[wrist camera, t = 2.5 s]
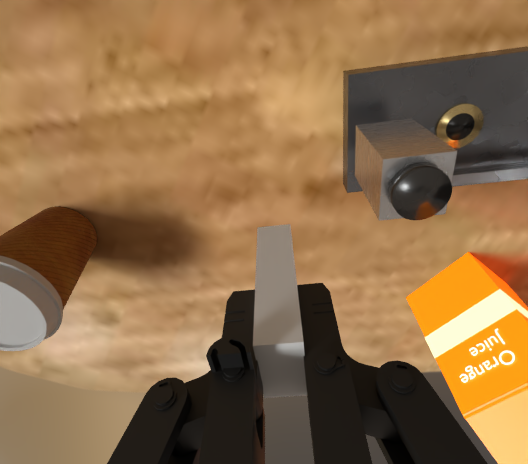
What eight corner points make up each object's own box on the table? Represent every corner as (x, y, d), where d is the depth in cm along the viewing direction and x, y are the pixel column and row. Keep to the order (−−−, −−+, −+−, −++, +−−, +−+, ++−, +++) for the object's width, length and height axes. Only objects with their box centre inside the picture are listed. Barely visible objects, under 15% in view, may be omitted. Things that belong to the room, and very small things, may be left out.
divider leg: (401, 110, 26) (466, 157, 18) (396, 159, 28) (452, 222, 20) (349, 116, 27) (388, 166, 18) (348, 164, 29) (383, 228, 20)
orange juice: (404, 297, 41) (499, 496, 24) (468, 250, 37) (635, 448, 20) (445, 324, 43) (557, 522, 26) (508, 284, 39) (687, 485, 22)
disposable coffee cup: (38, 174, 33) (-67, 245, 22) (127, 226, 36) (71, 309, 26) (9, 237, 37) (-90, 321, 27) (91, 279, 40) (31, 368, 30)
